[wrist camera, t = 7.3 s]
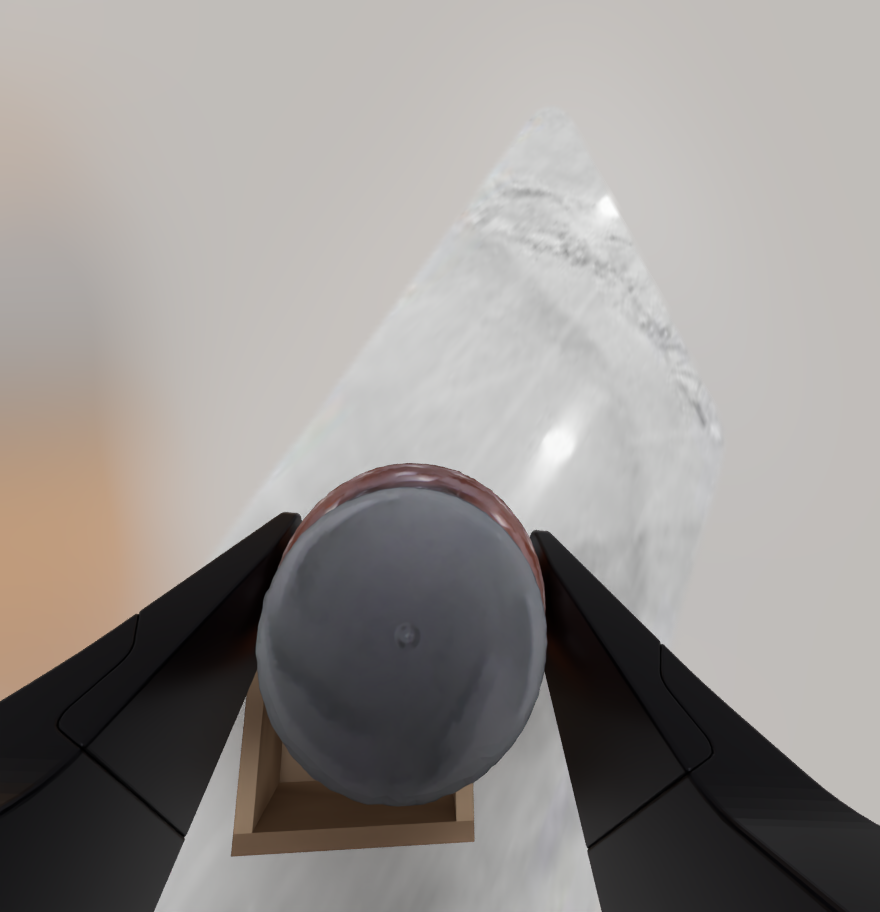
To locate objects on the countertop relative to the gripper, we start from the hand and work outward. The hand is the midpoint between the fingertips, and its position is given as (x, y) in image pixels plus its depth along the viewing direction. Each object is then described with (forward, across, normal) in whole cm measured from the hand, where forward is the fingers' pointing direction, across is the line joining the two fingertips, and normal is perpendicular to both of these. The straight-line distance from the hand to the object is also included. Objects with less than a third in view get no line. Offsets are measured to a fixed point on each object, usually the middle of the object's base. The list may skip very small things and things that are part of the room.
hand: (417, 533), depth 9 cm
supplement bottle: (+4, 0, +6) cm, 7 cm away
